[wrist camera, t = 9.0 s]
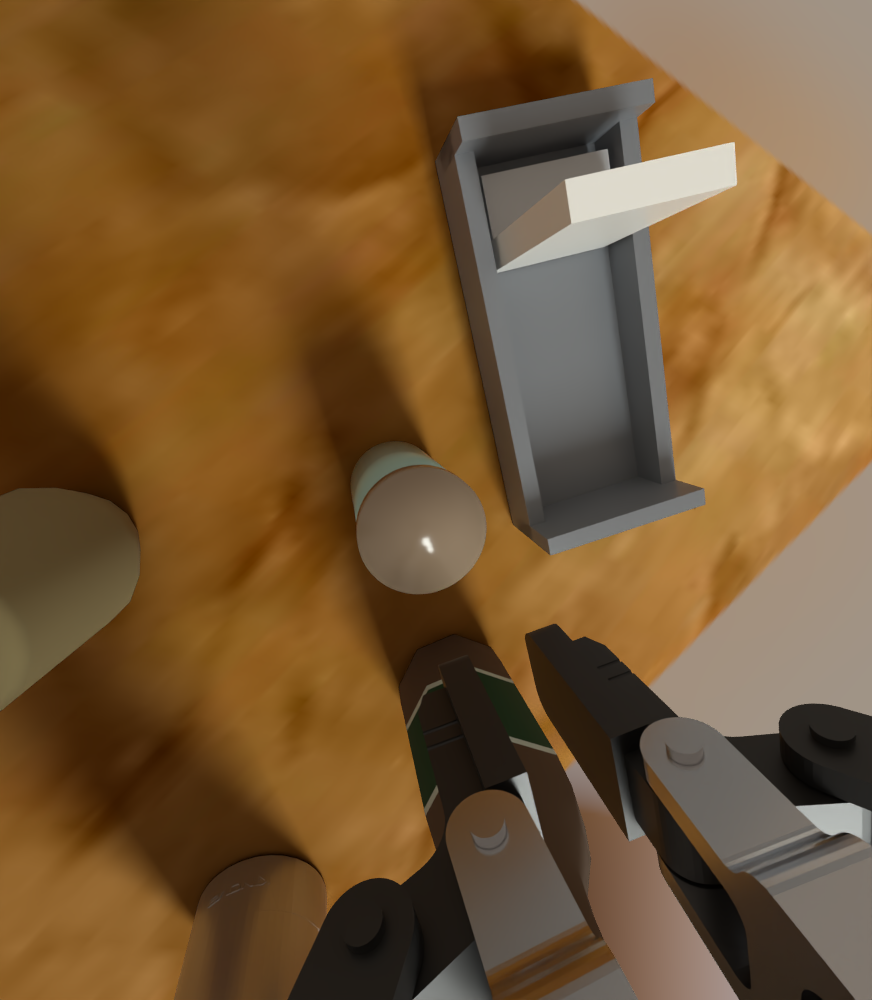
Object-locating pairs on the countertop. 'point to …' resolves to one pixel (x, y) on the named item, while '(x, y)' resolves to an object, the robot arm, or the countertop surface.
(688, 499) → the gray rectangular tray
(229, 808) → the countertop surface
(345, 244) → the countertop surface
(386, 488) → the jar
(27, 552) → the squeeze bottle
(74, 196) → the countertop surface
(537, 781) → the beer bottle
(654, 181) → the pusher
